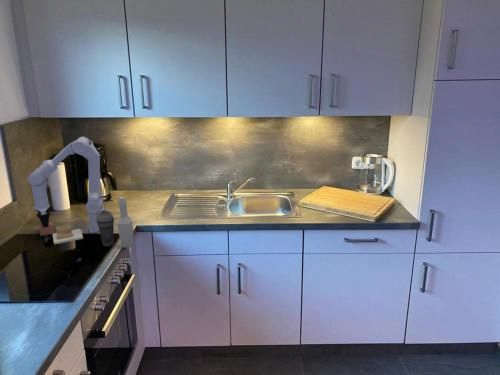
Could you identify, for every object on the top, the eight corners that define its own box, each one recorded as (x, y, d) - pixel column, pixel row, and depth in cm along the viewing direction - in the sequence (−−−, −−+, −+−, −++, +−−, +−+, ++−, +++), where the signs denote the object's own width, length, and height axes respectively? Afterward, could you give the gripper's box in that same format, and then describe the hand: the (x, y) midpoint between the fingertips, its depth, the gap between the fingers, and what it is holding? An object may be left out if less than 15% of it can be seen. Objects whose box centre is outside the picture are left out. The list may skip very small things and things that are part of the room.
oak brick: (57, 236, 187) (55, 227, 185) (71, 233, 189) (69, 224, 188) (58, 239, 183) (56, 230, 182) (72, 236, 186) (70, 227, 185)
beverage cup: (106, 240, 184) (100, 197, 178) (120, 241, 182) (115, 199, 176) (96, 246, 177) (89, 203, 171) (110, 248, 175) (104, 204, 169)
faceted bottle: (137, 242, 180) (131, 195, 174) (132, 248, 174) (127, 200, 168) (122, 242, 181) (117, 195, 174) (118, 248, 175) (111, 200, 168)
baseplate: (80, 230, 195) (79, 228, 195) (83, 238, 186) (82, 236, 186) (52, 235, 190) (52, 233, 190) (54, 244, 181) (53, 242, 180)
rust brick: (40, 233, 194) (38, 224, 192) (54, 230, 196) (52, 222, 195) (40, 236, 190) (38, 227, 189) (54, 233, 193) (53, 224, 192)
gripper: (30, 194, 192) (35, 221, 196) (31, 202, 180) (36, 231, 184) (47, 191, 195) (51, 218, 199) (48, 200, 183) (53, 228, 187)
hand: (45, 224), depth 192 cm, fingers open, 7 cm apart
